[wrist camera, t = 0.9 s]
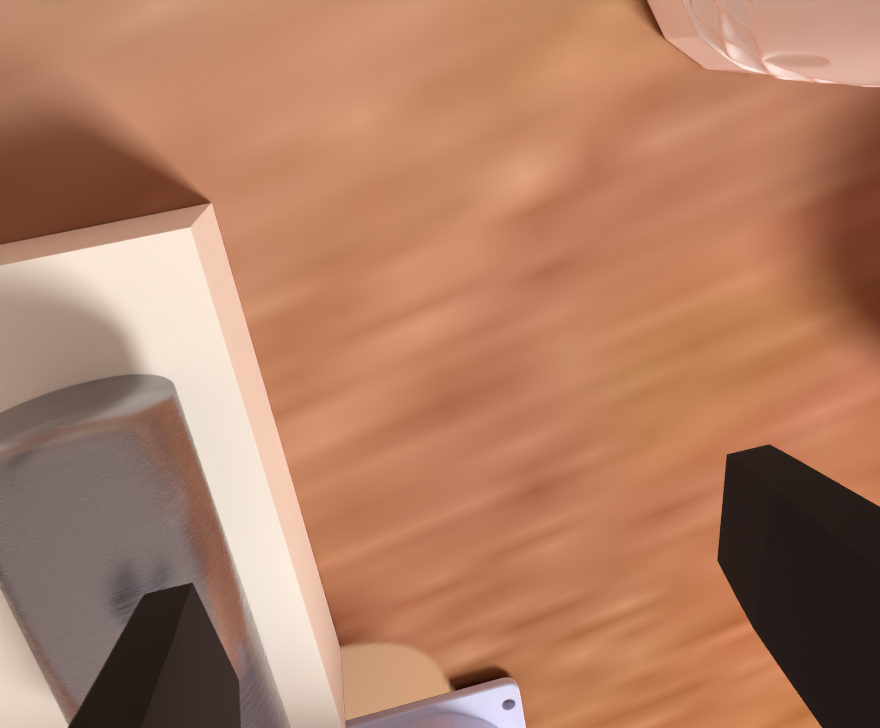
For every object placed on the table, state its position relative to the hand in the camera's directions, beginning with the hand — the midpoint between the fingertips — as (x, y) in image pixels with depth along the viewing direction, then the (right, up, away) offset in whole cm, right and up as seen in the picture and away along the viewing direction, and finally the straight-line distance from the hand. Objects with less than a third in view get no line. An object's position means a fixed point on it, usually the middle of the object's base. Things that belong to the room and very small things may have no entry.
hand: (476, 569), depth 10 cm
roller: (-7, -3, +7) cm, 11 cm away
